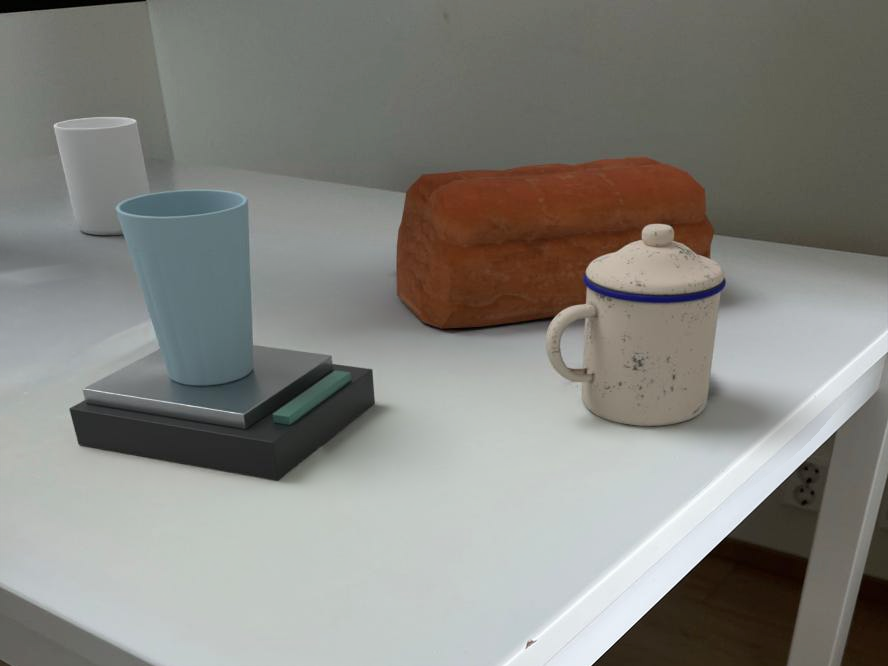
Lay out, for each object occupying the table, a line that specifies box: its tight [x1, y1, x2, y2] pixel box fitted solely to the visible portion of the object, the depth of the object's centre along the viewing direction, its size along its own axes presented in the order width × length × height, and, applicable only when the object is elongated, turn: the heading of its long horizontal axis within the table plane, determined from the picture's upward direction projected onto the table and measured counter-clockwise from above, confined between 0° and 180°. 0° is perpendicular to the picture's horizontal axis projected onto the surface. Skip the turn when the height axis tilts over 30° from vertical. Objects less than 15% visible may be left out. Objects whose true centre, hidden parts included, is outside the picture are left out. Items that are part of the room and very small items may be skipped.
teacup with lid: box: [545, 224, 727, 427], centre depth 66 cm, size 12×9×12 cm
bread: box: [395, 156, 716, 329], centre depth 87 cm, size 16×27×11 cm, turn 110°
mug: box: [53, 116, 151, 236], centre depth 112 cm, size 9×12×11 cm
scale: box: [68, 344, 376, 481], centre depth 66 cm, size 15×13×4 cm
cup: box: [116, 188, 254, 386], centre depth 63 cm, size 8×8×10 cm
